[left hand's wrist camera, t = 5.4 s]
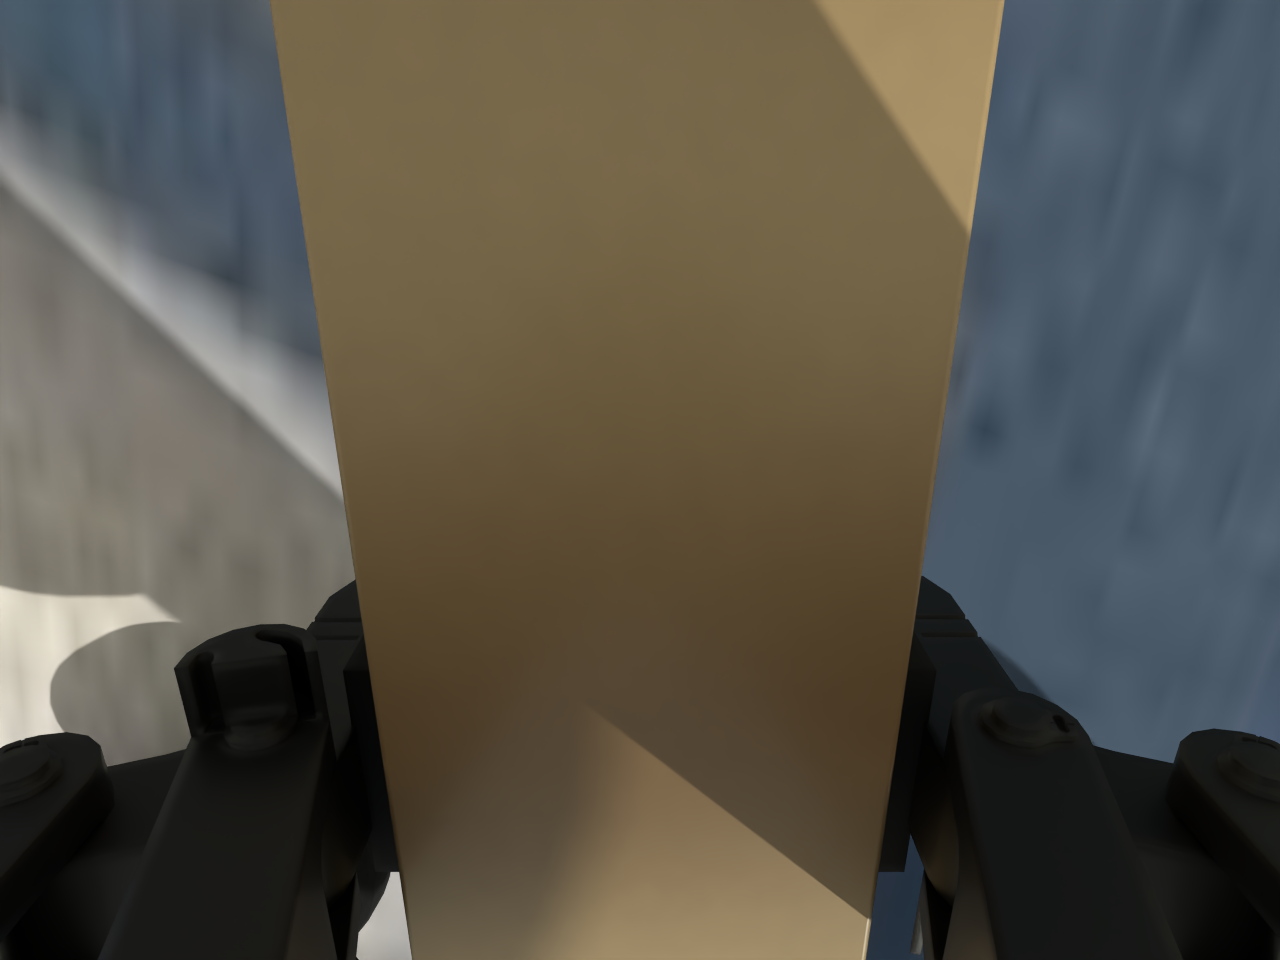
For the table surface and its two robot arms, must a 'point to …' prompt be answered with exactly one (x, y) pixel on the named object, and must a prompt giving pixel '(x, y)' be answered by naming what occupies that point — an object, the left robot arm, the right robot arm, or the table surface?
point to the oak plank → (637, 442)
